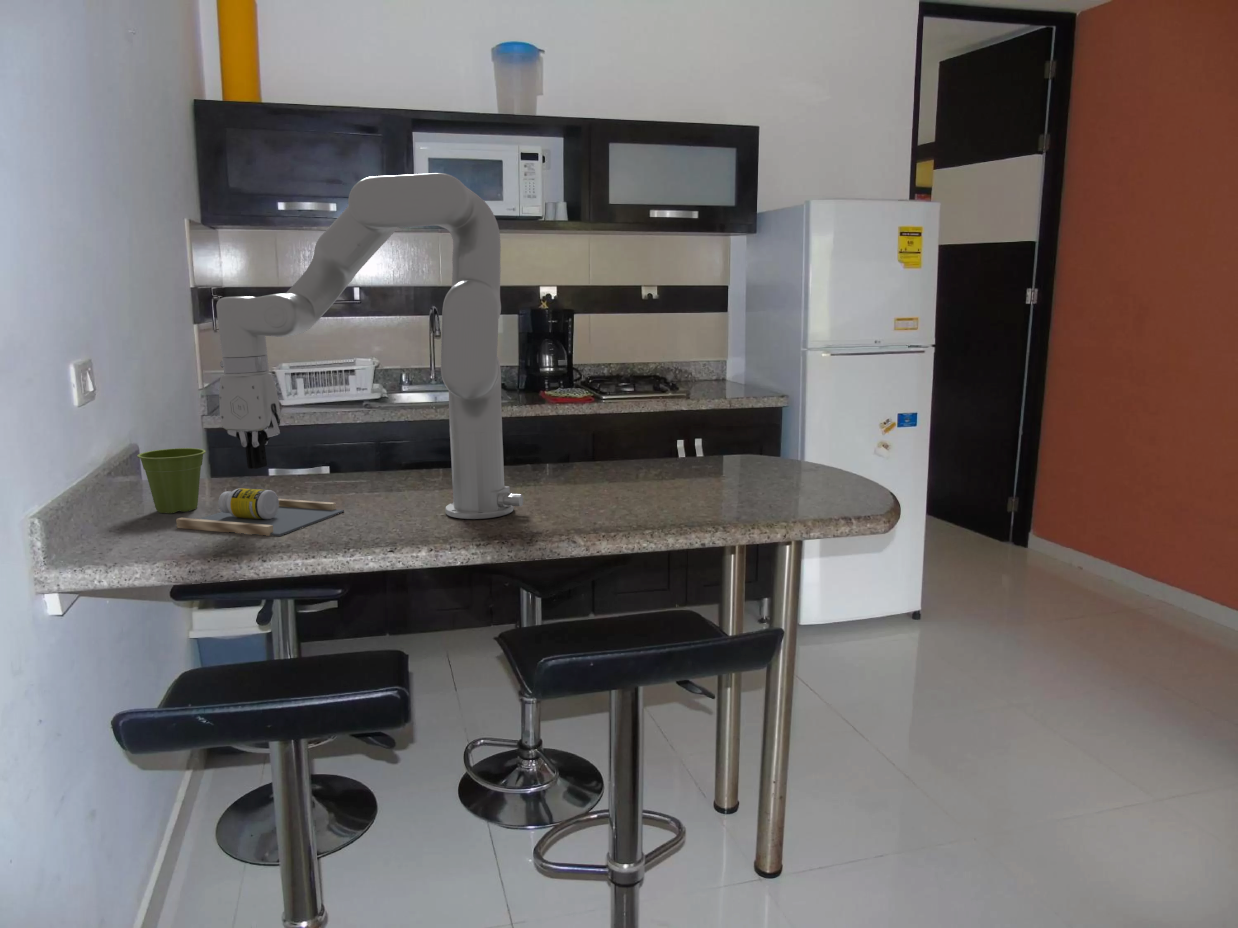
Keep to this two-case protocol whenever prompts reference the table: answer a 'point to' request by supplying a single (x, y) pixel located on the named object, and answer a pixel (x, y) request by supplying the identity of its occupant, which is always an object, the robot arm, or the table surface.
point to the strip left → (224, 526)
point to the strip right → (307, 504)
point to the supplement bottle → (249, 503)
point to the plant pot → (173, 477)
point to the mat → (282, 518)
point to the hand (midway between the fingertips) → (257, 467)
